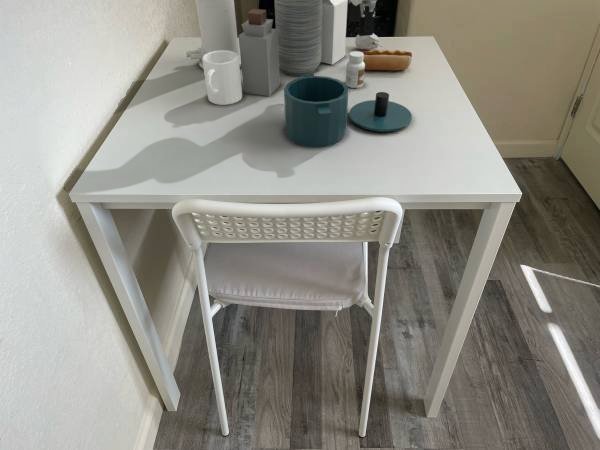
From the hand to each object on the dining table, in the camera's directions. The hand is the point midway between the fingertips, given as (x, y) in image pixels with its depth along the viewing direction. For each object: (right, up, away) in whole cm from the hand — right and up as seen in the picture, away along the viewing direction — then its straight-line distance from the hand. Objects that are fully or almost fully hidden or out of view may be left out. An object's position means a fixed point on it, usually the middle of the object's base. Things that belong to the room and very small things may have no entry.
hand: (359, 28), depth 105 cm
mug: (-32, -16, +3) cm, 36 cm away
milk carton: (-6, +1, +22) cm, 23 cm away
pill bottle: (0, -10, +9) cm, 14 cm away
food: (+8, -4, +16) cm, 19 cm away
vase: (-14, -4, +17) cm, 22 cm away
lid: (+4, -21, -5) cm, 22 cm away
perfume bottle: (-23, -12, +8) cm, 27 cm away
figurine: (+6, +5, +27) cm, 28 cm away
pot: (-10, -25, -8) cm, 29 cm away
